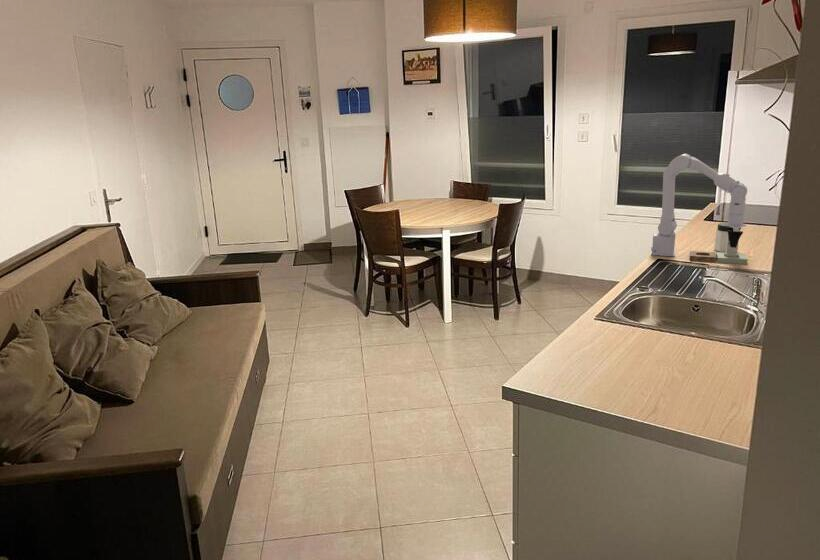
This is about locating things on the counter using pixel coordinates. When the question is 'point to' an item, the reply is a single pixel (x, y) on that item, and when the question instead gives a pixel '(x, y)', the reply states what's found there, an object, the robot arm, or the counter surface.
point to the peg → (730, 250)
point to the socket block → (702, 256)
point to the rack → (731, 258)
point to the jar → (721, 237)
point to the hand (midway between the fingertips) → (732, 245)
